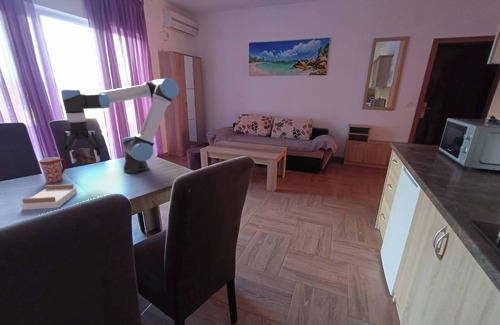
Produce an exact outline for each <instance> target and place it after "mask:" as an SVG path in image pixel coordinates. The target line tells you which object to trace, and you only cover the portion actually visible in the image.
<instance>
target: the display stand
mask: <svg viewBox="0 0 500 325" xmlns="http://www.w3.org/2000/svg"><path fill="white" fill-rule="evenodd" d="M77 193H78V191H77V187H75V186H74V184H73V183H70V184H69V183H65V184H63V183H62V184H47V185H44V189H42V190H41V191H39V192H38V193H36V194H35V195H33V196H31V197H28V198H22V199H21V201H22V202H21V203H20V206H21V209H22V210H23V211H24V210H40V209H41V210H43V209H56V208H60V207H61V206H63V204H64V203H66V202H67V201H69V200H70V199H71V198H73V197H74V196H75V195H76V194H77Z"/></svg>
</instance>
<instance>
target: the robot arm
mask: <svg viewBox="0 0 500 325" xmlns="http://www.w3.org/2000/svg"><path fill="white" fill-rule="evenodd" d="M179 93H180V88H179V85H178V82H177V81H175V80H174V79H172V78H169V77H164V78H157V79H153V80H151V81H146V82H143V83H142V84H139V85H132V86H125V87H121V88H115V89H114V88H113V89H108V90H103V91H97V92H88V93H81V91H80V89H62V90H61V98H62V102H63V107H64V111H65V115H66V120H67V122H68V128H69V131H68V130H66V131H63V143H62V144H63V145H62V150H63V151H67V154H68V155H67V156H68V157H69V158H70V159H71V163H72V164H75V163H77V162H78V160H76V159H75V158H74V157H73V155H72V152H73V151H75V150H74V149H73V148H74V146H75V144H76V143H77V140H85V141H87V142H88V143H89V144H90V145H91V147H92V148H93V149H94V150H93V152H94V155H95V156H94V158H95V159H96V162H95V163H99V162H101V158H100V156H101V149H103V148H104V145H103V144H102V142H101V141H100V139H99V137H98V136H97V134H96V130H89V129H88V123H87V121H86V120H87V119H86V118H87V117H86V114H85V109H86V110H87V109H89V110H91V109H94V110H95V109H108V108H109V109H110V107H111V104H116V103H121V102H126V101H132V100H137V99H141V98H142V99H143V98H146V97H147V98H153V100H152V103H151V105H150V107H149V109H148V112H147V114H146V117H145V119H144V121H143V124H142V126H141V128H140V130H139V133H138V134H136V135H133V136H126V137H123V138H122V139H121V140H122V146H123V147H122V148H123V153H124V160H125V161H124V164H123V172H124V173H126V174H141V173H144V172H147V171H148V170H149V164H148V162H147V161H148V160H150V159H151V158H152V156H153V155H154V148H153V147H154V145H155V141H154V139H155V136H156V133H157V132H158V129H159V126H160V124H161V122H162V119H163V118H164V114H165V112H166V111H167V108H168V106H169V105H171V104H172V102H173V100H174V99H175V98H176V97H177V96H178V95H179ZM70 136H72V137H70ZM90 136H91V137H90ZM70 138H71V140H70ZM69 142H70V143H69Z"/></svg>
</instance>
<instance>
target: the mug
mask: <svg viewBox="0 0 500 325" xmlns="http://www.w3.org/2000/svg"><path fill="white" fill-rule="evenodd" d="M61 161H62V166H61ZM38 162H39V164H40V167H41V169H42V173H43V175H44V178H45V181H46V183H48V184H56V183H60V182H61V181H63V179H64V178H63V174H64V173H65V170H66V167H67V161H66V160H65V159H64V158H60V157H58V156H51V157H50V156H48V157H45V158H40V159H38Z"/></svg>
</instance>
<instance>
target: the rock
mask: <svg viewBox="0 0 500 325" xmlns="http://www.w3.org/2000/svg"><path fill="white" fill-rule="evenodd" d="M72 155H73V157H74V158H75V159H76V161H77V162H78V163H80V164H82V165H84V164H94V163H97V162H96V157H95V156H93V155H92V152H91V149H90V148H86V147H85V148H84V147H83V148H78V149H76V150H74V151H73V152H72Z"/></svg>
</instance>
